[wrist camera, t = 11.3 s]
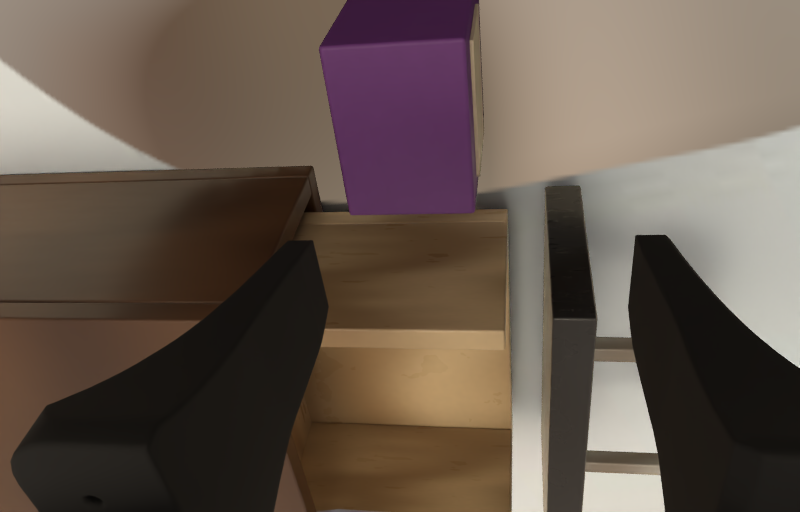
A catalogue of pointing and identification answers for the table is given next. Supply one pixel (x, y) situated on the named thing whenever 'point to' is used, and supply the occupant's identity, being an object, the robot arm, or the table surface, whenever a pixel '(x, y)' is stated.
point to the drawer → (447, 363)
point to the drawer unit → (127, 279)
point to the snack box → (407, 104)
